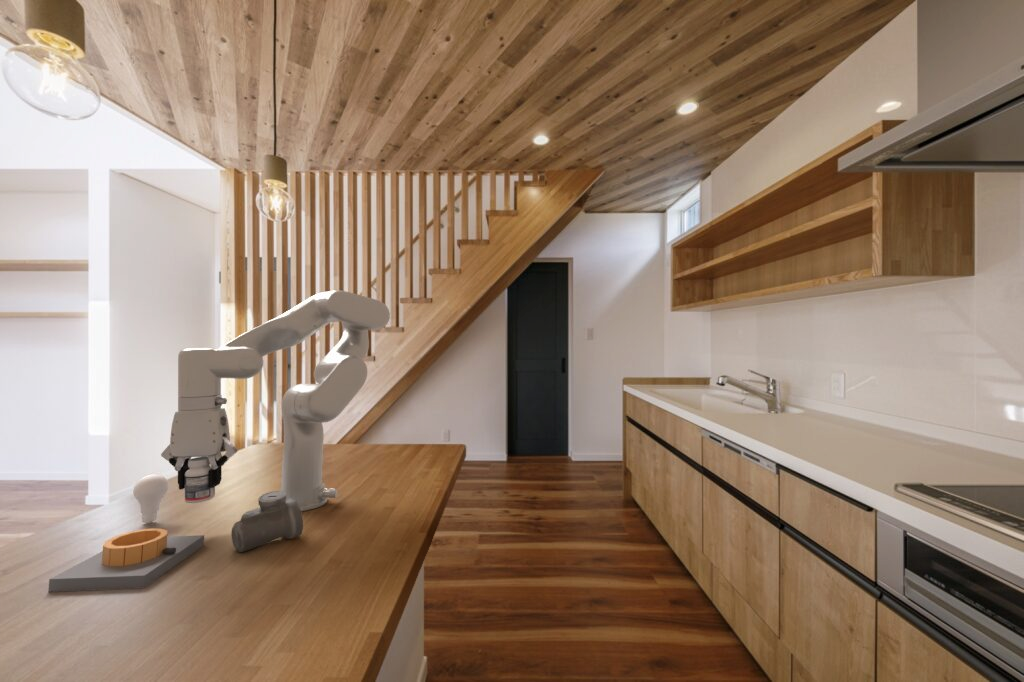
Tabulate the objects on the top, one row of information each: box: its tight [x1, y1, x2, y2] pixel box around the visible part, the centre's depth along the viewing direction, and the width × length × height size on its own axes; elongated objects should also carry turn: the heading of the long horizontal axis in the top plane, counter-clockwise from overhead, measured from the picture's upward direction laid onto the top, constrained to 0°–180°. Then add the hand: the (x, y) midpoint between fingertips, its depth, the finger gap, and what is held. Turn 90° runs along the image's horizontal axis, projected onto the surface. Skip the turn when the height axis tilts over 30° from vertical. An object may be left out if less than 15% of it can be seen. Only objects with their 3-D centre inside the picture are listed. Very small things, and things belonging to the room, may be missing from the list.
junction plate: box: [47, 527, 205, 593], centre depth 76 cm, size 14×16×5 cm
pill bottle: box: [184, 456, 216, 504], centre depth 91 cm, size 5×5×9 cm
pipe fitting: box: [230, 490, 304, 553], centre depth 86 cm, size 12×8×10 cm
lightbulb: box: [133, 473, 169, 525], centre depth 95 cm, size 6×6×11 cm
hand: (199, 485), depth 91 cm, fingers closed on pill bottle, 5 cm apart
